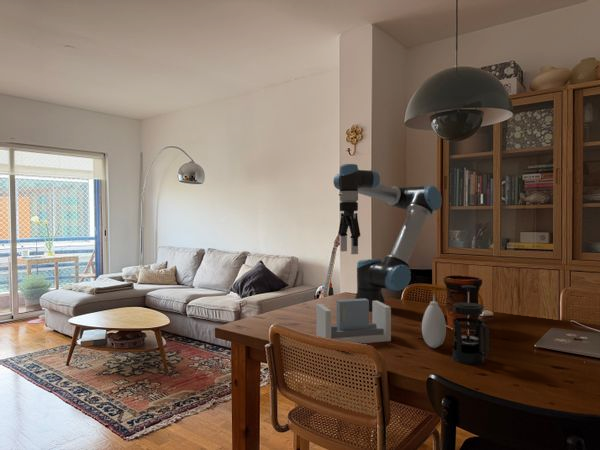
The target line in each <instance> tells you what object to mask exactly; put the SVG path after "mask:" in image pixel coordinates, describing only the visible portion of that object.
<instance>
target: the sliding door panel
mask: <svg viewBox="0 0 600 450" xmlns="http://www.w3.org/2000/svg"><path fill="white" fill-rule="evenodd" d="M369 323H370V311H369V300H367V299H366V298H362V299H355V298H347V299H336V326H337V331H341V330H355V329H369Z"/></svg>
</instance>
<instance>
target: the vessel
mask: <svg viewBox="0 0 600 450" xmlns="http://www.w3.org/2000/svg"><path fill="white" fill-rule="evenodd" d="M443 283H444V285H445V289H446V298H445V299H446V300H445V310H446V311H445V313H446V319H447V321H446V322H447V324H448V325H447V324H446V328H449V329H450V330H452V331H454V330H453V329H454V325H453V319H455V318H468V315H462V314H458V313H456V312H455V309H454V308H455V307H454V306H453V304H454V303H461V302H466V303H468V292H467V288H463V287H461V286H463V285H472V286H475V287H476V288H470V292H469V303H476V304H480V302H479V301H480V300H479V292H480V288H481V286H482V285H483V278H482V277H478V276H471V275H464V274H463V275H462V274H452V275H444V276H443ZM479 316H480V315H469V318H474V319H479ZM459 323H461V324H467V325H468V322H459ZM469 325H475V323H473V322H469ZM462 330H468V329H464V328H462ZM469 330H474V329H469Z"/></svg>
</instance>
